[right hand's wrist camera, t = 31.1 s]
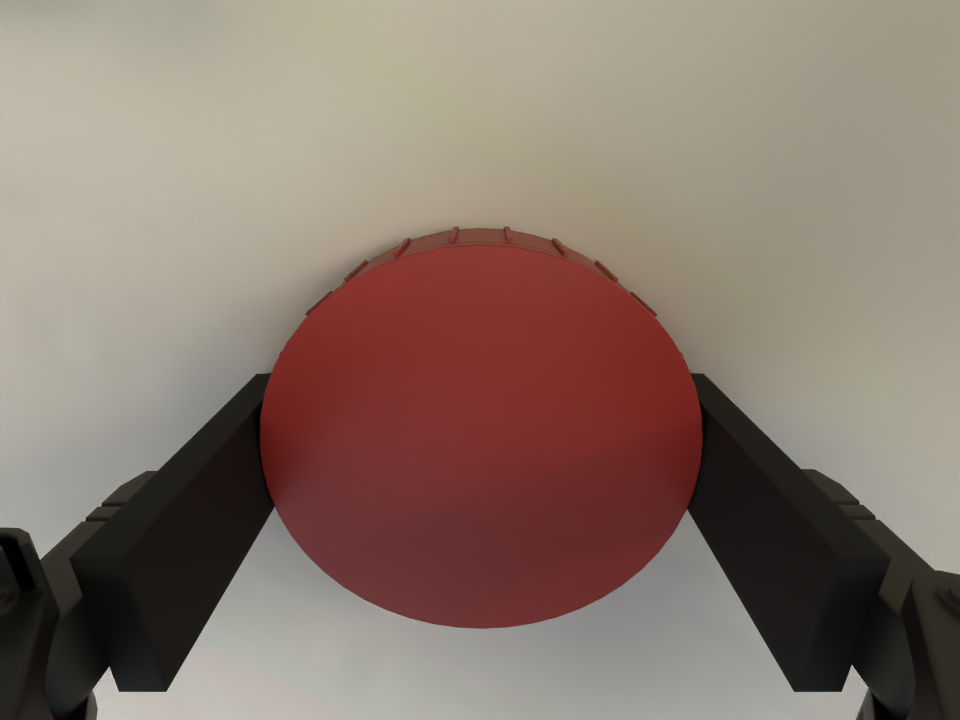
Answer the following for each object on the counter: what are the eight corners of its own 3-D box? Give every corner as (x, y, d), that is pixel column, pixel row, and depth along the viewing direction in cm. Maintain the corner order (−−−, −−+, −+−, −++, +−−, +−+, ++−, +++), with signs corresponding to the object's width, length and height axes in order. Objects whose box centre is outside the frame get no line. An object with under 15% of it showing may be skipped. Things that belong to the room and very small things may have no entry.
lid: (750, 382, 13) (804, 428, 11) (513, 612, 16) (517, 685, 14) (434, 131, 11) (423, 124, 9) (227, 449, 14) (179, 503, 12)
